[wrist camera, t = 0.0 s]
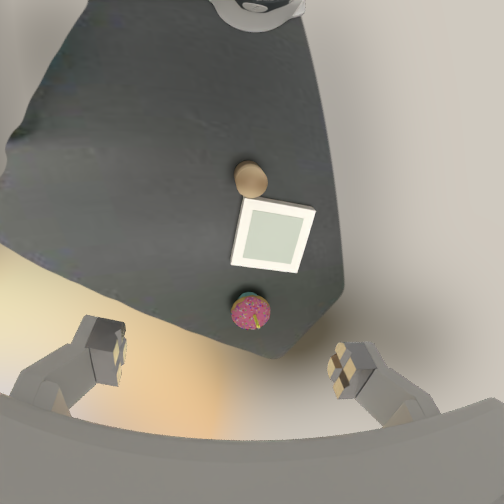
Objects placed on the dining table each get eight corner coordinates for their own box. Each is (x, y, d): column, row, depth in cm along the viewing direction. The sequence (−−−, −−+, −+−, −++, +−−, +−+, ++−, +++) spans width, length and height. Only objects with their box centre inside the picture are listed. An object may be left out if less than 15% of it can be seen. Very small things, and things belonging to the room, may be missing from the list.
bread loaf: (236, 158, 54) (239, 165, 48) (264, 163, 55) (270, 171, 49) (231, 184, 56) (233, 195, 50) (258, 189, 57) (263, 200, 51)
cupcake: (237, 280, 66) (242, 315, 55) (273, 290, 68) (283, 324, 58) (225, 310, 69) (227, 346, 59) (259, 318, 72) (266, 354, 61)
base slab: (243, 194, 57) (244, 198, 55) (312, 206, 60) (316, 211, 58) (230, 258, 63) (231, 265, 61) (294, 267, 66) (297, 273, 64)
